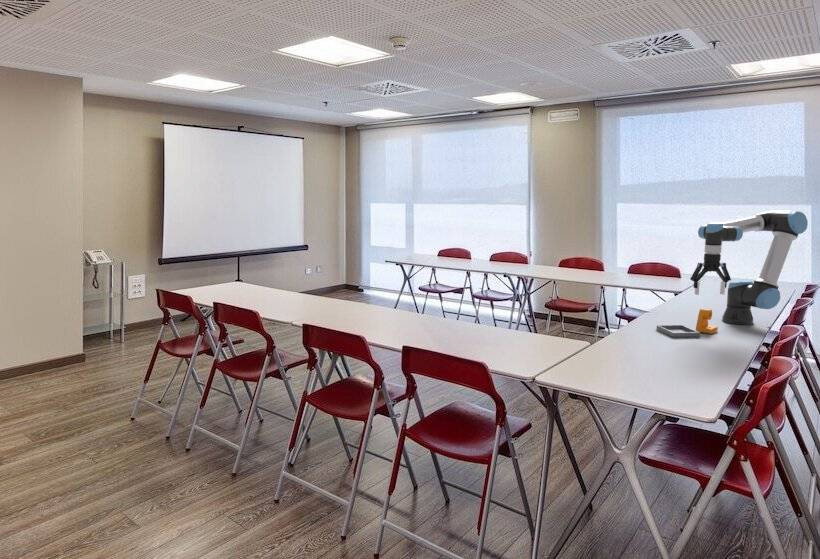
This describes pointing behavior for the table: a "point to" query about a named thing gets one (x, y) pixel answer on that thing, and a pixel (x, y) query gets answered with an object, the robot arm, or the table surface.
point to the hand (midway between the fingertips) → (709, 294)
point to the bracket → (705, 322)
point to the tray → (678, 331)
